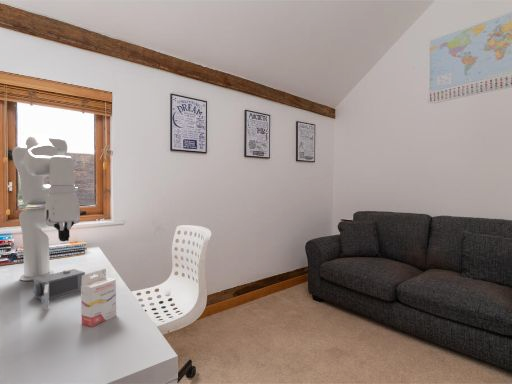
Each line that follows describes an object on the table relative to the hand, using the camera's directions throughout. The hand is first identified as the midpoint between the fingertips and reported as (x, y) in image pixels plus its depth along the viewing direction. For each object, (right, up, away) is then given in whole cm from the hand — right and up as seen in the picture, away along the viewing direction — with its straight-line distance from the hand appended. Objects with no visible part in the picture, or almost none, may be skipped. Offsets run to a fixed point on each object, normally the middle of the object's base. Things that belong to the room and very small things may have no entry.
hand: (64, 240), depth 106 cm
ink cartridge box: (+22, -22, -16) cm, 35 cm away
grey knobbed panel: (-6, -22, +7) cm, 23 cm away
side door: (-2, -21, -6) cm, 22 cm away
